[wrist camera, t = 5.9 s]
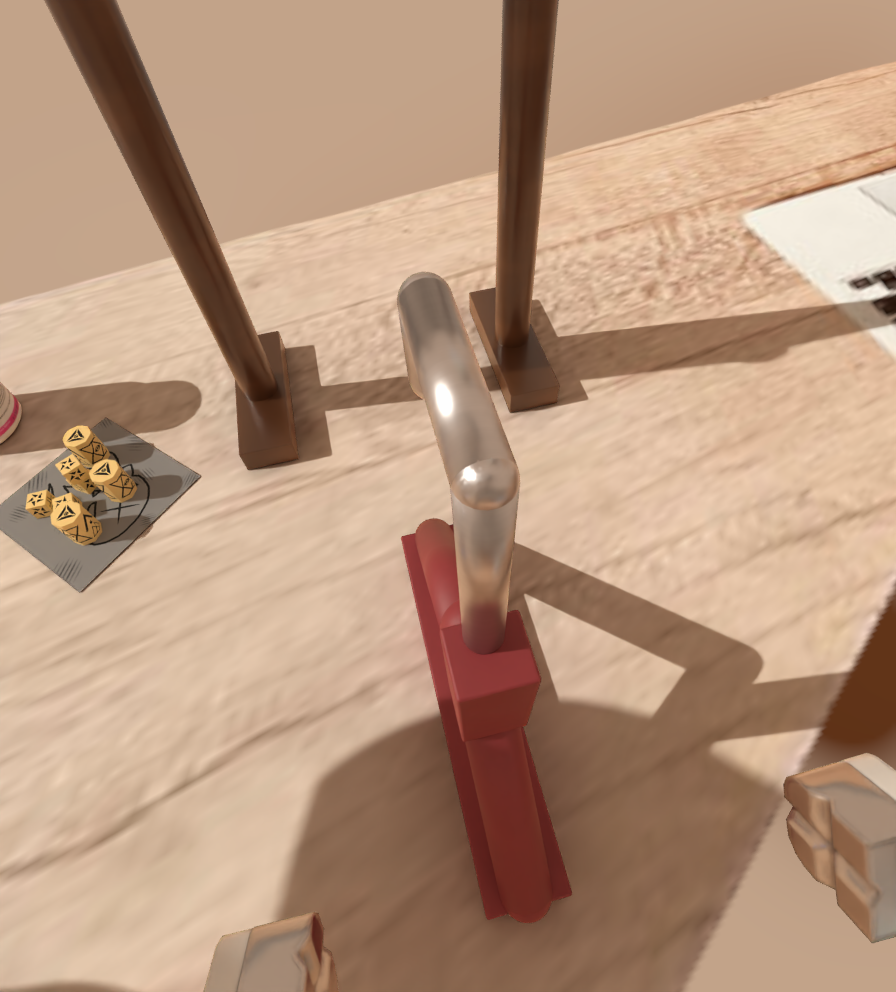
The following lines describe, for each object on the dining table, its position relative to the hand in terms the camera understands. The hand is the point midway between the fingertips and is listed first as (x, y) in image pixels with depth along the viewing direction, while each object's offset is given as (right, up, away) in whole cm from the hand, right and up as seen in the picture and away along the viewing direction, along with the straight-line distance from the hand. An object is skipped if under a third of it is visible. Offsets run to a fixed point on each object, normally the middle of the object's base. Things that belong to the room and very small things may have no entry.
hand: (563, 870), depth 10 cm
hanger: (-1, -2, +15) cm, 15 cm away
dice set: (-21, +6, +22) cm, 31 cm away
